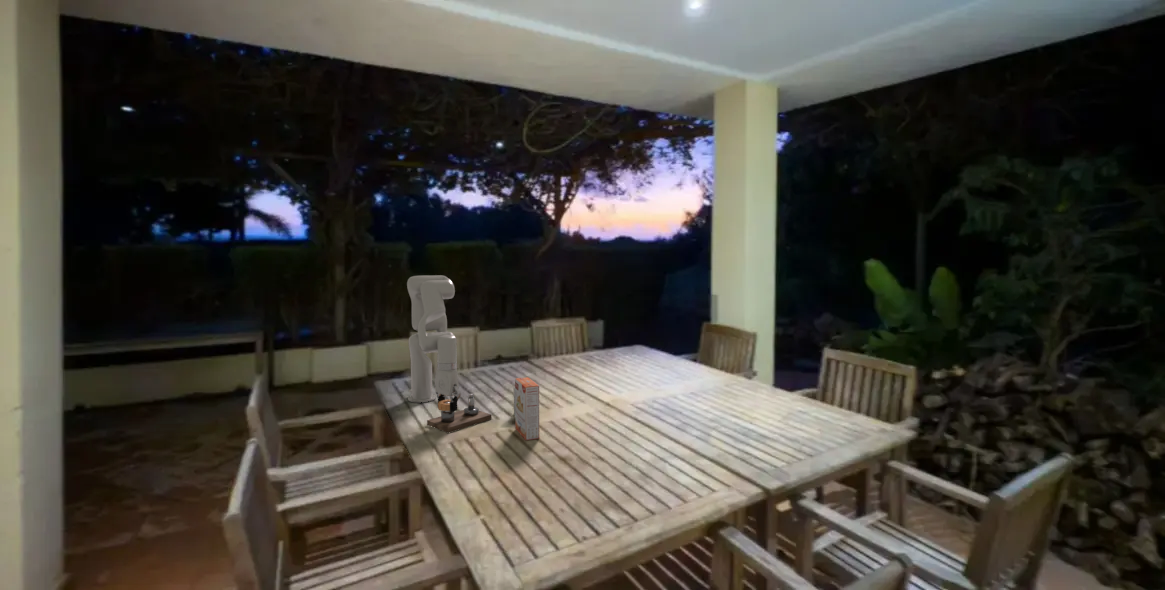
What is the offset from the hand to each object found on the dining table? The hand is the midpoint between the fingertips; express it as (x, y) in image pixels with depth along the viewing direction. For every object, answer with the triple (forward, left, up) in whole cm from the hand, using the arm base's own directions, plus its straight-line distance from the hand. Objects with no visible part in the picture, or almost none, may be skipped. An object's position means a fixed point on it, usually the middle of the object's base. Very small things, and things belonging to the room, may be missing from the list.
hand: (447, 408), depth 214 cm
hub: (0, +12, -5) cm, 13 cm away
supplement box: (+12, +31, -7) cm, 34 cm away
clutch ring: (0, 0, 0) cm, 0 cm away
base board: (0, +6, -7) cm, 9 cm away
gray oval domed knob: (0, 0, -5) cm, 5 cm away
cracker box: (+31, +14, -7) cm, 35 cm away
